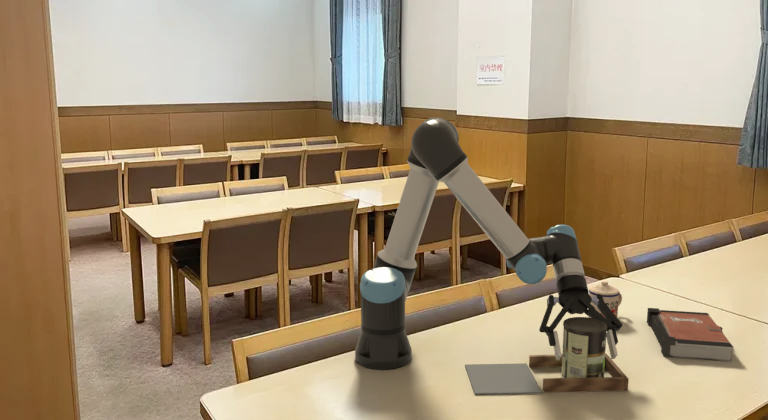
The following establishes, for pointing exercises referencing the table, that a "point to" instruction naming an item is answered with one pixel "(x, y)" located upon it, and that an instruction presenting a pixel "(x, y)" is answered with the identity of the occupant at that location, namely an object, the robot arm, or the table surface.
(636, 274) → the table surface
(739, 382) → the table surface
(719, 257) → the table surface
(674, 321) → the book
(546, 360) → the frame
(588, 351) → the coffee can
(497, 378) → the rubber mat
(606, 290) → the teacup with lid
